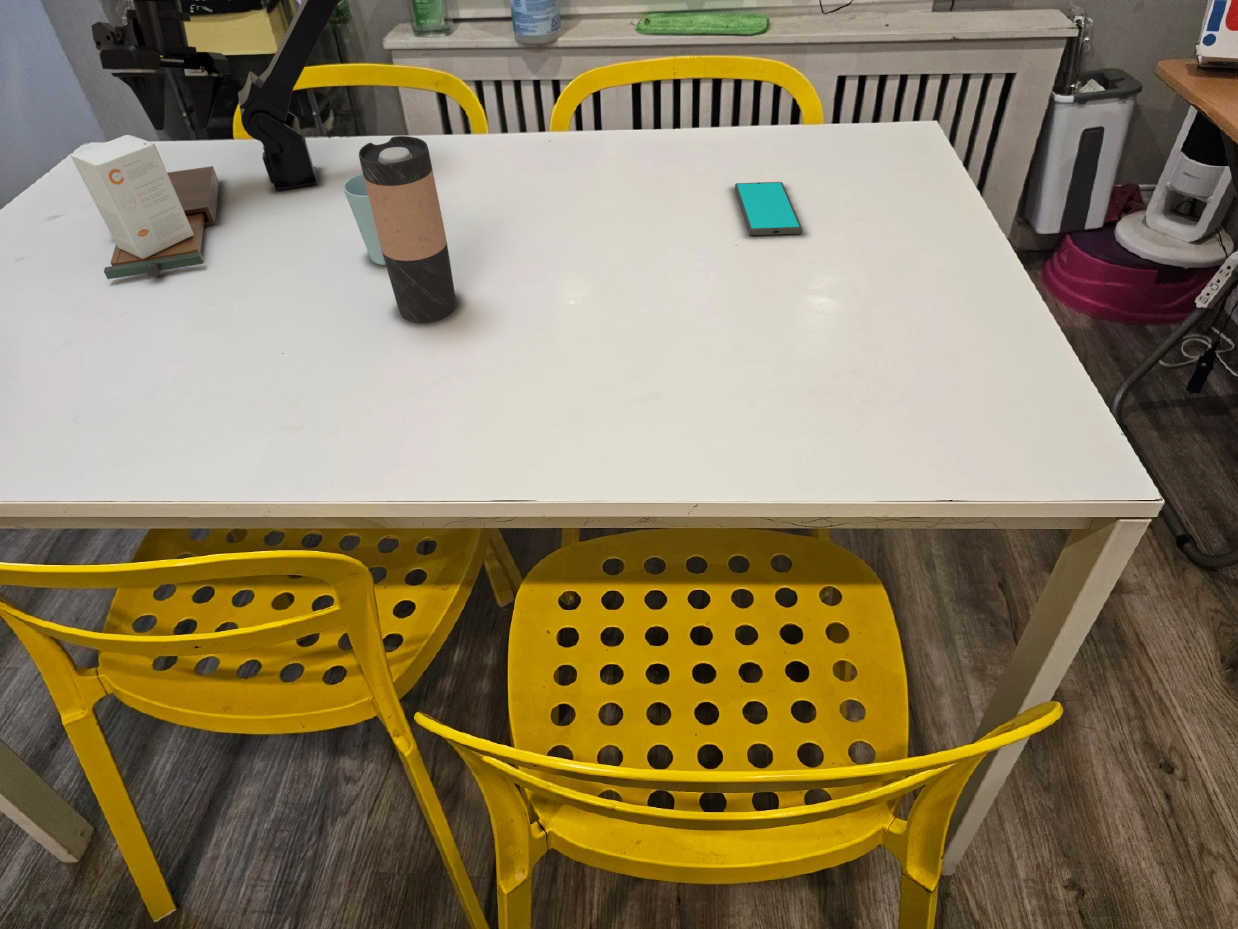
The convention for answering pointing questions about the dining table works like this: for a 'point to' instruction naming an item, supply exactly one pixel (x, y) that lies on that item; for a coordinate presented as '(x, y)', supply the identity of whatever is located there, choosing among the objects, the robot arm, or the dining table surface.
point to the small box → (134, 195)
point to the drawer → (161, 255)
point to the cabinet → (197, 191)
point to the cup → (364, 215)
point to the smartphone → (767, 208)
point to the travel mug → (410, 226)
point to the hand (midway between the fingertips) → (182, 129)
